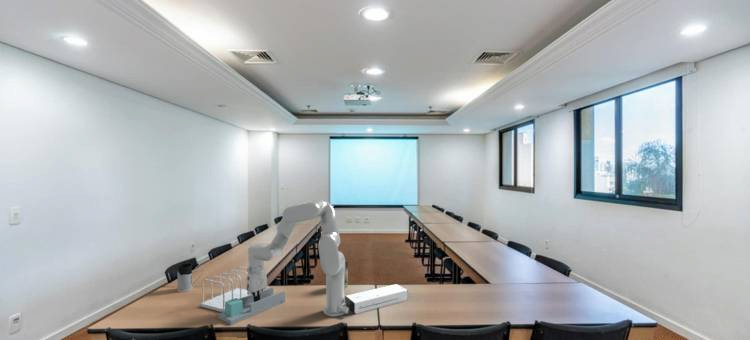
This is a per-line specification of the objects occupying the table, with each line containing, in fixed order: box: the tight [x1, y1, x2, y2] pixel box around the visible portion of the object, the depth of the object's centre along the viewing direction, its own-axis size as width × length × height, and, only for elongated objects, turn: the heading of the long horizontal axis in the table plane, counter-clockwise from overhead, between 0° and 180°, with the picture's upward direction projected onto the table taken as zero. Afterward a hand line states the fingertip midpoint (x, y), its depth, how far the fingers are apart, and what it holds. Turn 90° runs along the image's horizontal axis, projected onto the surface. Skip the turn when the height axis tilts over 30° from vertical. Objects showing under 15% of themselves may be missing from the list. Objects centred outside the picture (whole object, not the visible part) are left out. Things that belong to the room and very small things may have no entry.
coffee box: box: [344, 260, 349, 289], centre depth 204 cm, size 9×6×16 cm
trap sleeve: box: [217, 286, 286, 326], centre depth 174 cm, size 12×32×6 cm, turn 144°
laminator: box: [344, 283, 409, 315], centre depth 183 cm, size 34×12×6 cm, turn 120°
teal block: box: [225, 298, 243, 317], centre depth 166 cm, size 6×6×6 cm
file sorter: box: [200, 266, 248, 313], centre depth 186 cm, size 25×17×16 cm
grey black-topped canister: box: [176, 263, 204, 293], centre depth 204 cm, size 9×14×15 cm, turn 118°
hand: (257, 302), depth 176 cm, fingers closed
